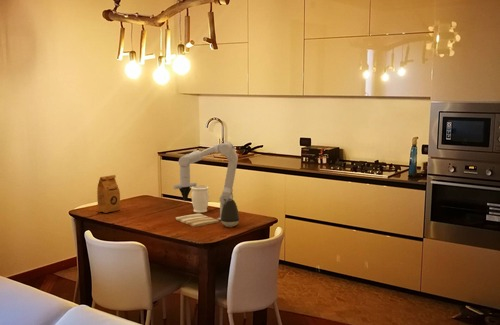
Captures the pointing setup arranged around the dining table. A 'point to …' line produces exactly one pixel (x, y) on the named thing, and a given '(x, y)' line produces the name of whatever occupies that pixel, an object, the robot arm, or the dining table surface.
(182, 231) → the dining table surface
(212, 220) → the folded beige cloth
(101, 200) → the coffee package
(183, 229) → the dining table surface
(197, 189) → the jar
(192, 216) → the cream folded cloth
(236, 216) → the smart speaker
